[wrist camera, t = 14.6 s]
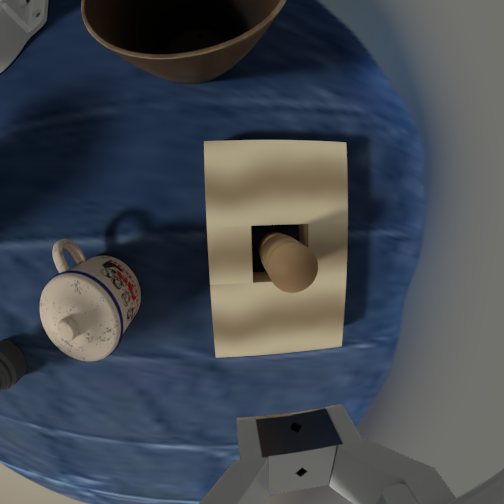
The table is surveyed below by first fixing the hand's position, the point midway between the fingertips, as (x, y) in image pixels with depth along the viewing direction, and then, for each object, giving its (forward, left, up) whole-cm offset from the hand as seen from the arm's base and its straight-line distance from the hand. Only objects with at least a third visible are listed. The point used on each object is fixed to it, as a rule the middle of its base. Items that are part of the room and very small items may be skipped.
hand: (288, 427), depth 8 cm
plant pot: (-22, -4, -27) cm, 35 cm away
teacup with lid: (+3, -16, -27) cm, 32 cm away
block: (0, +4, -27) cm, 27 cm away
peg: (0, +4, -27) cm, 27 cm away
